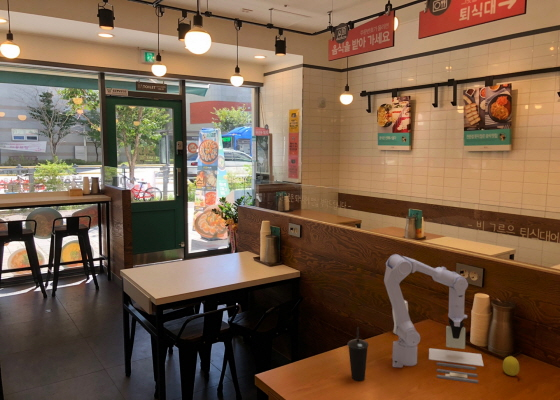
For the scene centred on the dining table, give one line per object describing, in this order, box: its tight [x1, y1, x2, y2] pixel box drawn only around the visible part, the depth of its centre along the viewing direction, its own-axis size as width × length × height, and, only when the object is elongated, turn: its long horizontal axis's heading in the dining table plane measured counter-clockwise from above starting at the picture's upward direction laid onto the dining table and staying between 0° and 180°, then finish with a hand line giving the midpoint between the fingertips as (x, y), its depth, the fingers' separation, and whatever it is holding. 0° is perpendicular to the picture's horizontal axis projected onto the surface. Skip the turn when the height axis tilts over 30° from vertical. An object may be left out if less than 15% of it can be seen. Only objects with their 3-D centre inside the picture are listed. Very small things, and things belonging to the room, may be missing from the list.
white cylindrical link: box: [392, 299, 409, 336], centre depth 209 cm, size 7×7×15 cm
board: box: [428, 348, 484, 367], centre depth 183 cm, size 20×10×2 cm, turn 71°
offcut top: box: [450, 372, 469, 379], centre depth 167 cm, size 6×2×1 cm, turn 71°
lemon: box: [502, 355, 520, 377], centre depth 169 cm, size 6×6×8 cm
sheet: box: [445, 325, 466, 350], centre depth 182 cm, size 7×2×8 cm, turn 71°
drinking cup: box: [347, 326, 369, 382], centre depth 169 cm, size 8×8×20 cm
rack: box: [436, 361, 479, 384], centre depth 170 cm, size 14×12×2 cm
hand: (455, 336), depth 182 cm, fingers closed on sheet, 2 cm apart
